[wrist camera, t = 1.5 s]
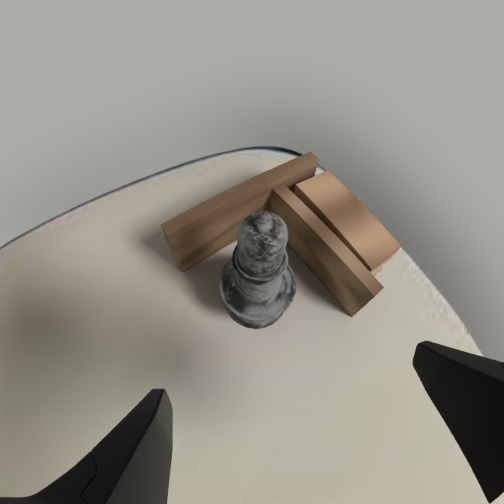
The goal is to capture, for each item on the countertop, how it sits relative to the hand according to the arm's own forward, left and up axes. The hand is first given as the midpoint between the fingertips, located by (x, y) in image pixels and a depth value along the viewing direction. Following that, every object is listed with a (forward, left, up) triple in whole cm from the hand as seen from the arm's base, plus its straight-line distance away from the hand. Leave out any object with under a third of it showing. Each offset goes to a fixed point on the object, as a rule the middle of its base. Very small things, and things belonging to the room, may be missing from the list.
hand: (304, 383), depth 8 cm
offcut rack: (+7, -8, -14) cm, 17 cm away
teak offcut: (+7, -14, -10) cm, 18 cm away
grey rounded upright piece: (+7, -4, -14) cm, 16 cm away
